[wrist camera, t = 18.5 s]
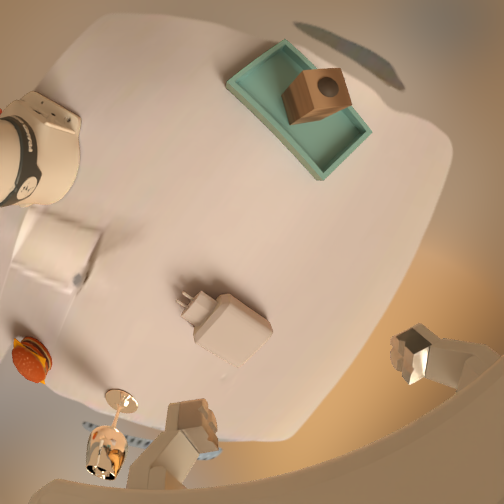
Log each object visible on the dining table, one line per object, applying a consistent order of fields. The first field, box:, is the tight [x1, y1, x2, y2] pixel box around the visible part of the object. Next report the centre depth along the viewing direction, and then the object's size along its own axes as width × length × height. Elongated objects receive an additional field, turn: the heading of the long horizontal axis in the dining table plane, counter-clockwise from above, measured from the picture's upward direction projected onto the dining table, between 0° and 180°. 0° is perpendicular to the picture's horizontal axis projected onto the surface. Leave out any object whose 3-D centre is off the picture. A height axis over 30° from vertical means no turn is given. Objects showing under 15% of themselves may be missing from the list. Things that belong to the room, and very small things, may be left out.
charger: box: [176, 291, 273, 368], centre depth 43 cm, size 5×9×15 cm
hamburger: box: [12, 337, 52, 384], centre depth 40 cm, size 9×10×7 cm
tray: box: [226, 39, 372, 181], centre depth 37 cm, size 20×12×3 cm, turn 44°
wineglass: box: [86, 390, 138, 480], centre depth 38 cm, size 8×8×20 cm
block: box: [281, 68, 352, 125], centre depth 32 cm, size 5×5×11 cm
